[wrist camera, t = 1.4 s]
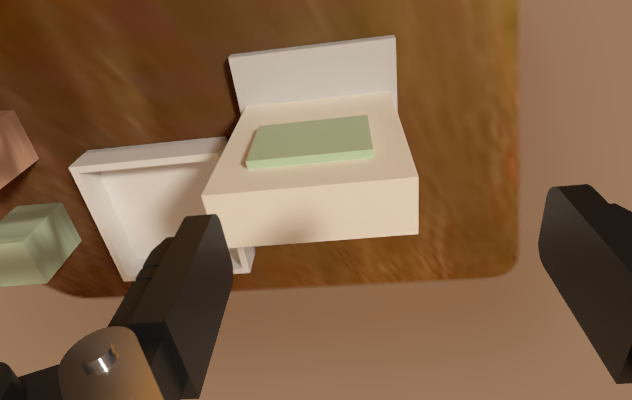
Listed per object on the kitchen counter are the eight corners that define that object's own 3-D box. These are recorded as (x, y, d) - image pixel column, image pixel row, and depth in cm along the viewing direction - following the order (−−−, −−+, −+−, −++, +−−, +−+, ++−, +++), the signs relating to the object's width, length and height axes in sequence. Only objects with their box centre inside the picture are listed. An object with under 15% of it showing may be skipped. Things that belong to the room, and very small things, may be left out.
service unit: (230, 54, 32) (169, 129, 20) (393, 34, 31) (430, 101, 19) (254, 162, 37) (216, 273, 25) (397, 148, 36) (427, 258, 24)
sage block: (16, 206, 40) (-30, 246, 35) (61, 202, 40) (22, 242, 35) (39, 243, 43) (-1, 286, 38) (81, 240, 42) (47, 283, 37)
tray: (87, 150, 37) (68, 167, 34) (226, 136, 36) (217, 152, 33) (136, 260, 43) (123, 281, 41) (255, 251, 42) (250, 272, 39)
